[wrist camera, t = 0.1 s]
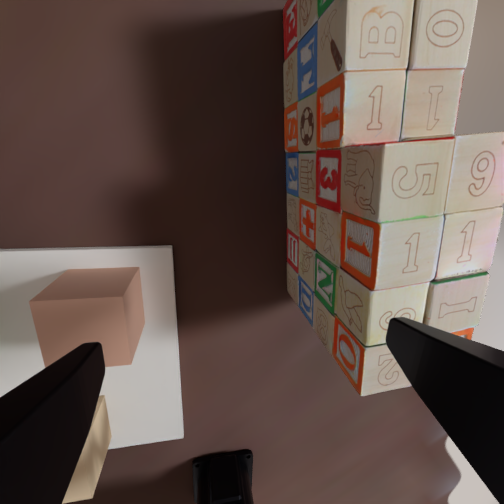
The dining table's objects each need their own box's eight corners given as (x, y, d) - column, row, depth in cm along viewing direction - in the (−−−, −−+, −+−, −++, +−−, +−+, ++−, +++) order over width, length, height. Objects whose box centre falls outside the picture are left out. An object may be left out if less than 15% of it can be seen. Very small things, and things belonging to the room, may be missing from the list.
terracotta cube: (145, 322, 23) (131, 364, 18) (79, 327, 22) (46, 372, 17) (139, 266, 21) (122, 296, 16) (67, 269, 20) (28, 301, 15)
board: (183, 432, 28) (183, 437, 27) (-104, 474, 23) (-111, 482, 23) (172, 245, 22) (171, 247, 21) (-221, 254, 17) (-236, 257, 17)
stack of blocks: (278, 8, 18) (417, -259, 7) (364, 9, 19) (614, -221, 8) (286, 292, 25) (361, 402, 14) (349, 283, 26) (468, 378, 15)
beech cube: (111, 436, 26) (92, 498, 21) (52, 445, 25) (18, 511, 20) (104, 395, 24) (81, 451, 19) (41, 402, 23) (1, 463, 18)
